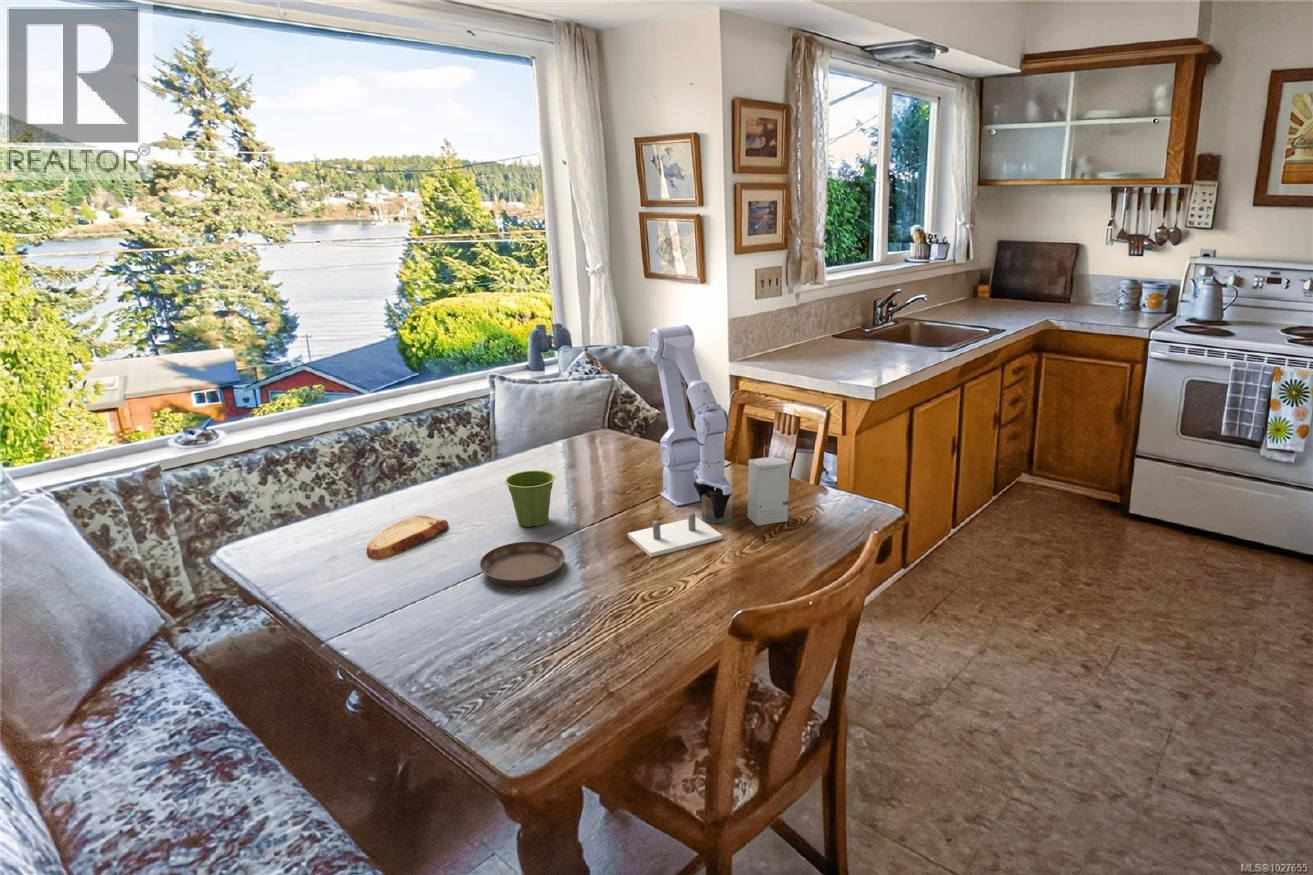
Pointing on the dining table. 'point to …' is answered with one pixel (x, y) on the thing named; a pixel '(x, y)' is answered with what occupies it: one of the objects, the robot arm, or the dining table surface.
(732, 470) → the dining table surface
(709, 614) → the dining table surface
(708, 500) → the sleeve
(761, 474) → the skincare box
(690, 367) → the robot arm
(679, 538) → the pin board
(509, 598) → the dining table surface
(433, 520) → the bread slice
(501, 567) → the plant saucer
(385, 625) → the dining table surface
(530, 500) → the plant pot
